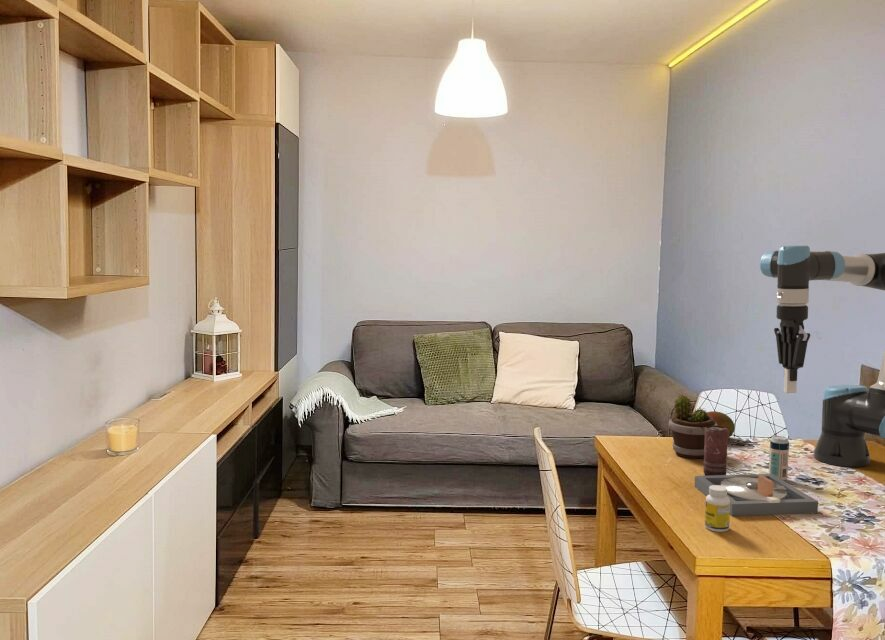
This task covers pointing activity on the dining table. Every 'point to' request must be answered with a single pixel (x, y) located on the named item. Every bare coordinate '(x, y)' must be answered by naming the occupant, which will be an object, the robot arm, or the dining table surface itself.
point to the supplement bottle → (717, 509)
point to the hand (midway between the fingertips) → (790, 392)
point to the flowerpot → (689, 428)
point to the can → (715, 450)
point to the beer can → (779, 457)
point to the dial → (753, 488)
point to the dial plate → (771, 506)
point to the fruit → (723, 421)
